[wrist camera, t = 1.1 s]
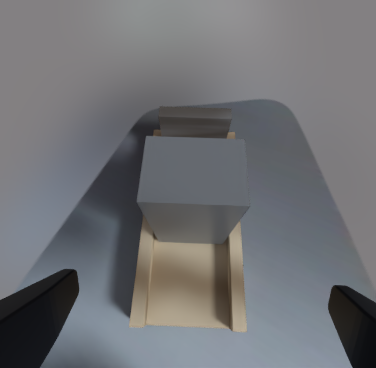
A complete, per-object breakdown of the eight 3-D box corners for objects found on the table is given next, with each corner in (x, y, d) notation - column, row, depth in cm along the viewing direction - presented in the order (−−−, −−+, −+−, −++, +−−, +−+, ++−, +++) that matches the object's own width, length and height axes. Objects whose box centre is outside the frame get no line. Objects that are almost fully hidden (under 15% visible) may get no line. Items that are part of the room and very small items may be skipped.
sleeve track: (240, 326, 19) (264, 341, 13) (134, 322, 19) (112, 335, 14) (231, 148, 27) (244, 108, 21) (155, 145, 27) (146, 105, 21)
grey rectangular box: (222, 244, 20) (250, 206, 11) (159, 241, 20) (136, 201, 11) (221, 202, 22) (244, 139, 13) (162, 199, 22) (145, 135, 13)
